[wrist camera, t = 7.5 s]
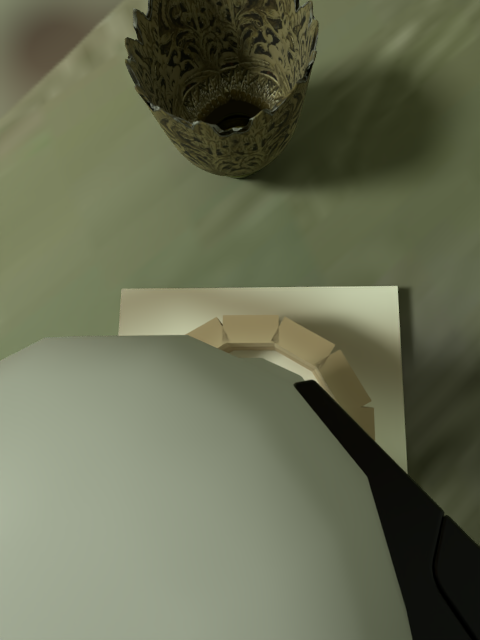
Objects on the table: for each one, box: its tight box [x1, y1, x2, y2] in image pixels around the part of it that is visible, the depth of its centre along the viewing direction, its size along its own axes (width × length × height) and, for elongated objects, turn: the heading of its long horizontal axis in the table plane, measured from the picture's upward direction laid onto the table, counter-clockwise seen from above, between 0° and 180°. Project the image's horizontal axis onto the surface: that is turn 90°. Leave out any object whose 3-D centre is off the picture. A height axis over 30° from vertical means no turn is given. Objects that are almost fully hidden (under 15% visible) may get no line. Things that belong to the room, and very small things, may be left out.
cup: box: [125, 0, 318, 178], centre depth 20 cm, size 8×7×8 cm
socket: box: [118, 286, 408, 474], centre depth 19 cm, size 18×14×4 cm
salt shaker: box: [0, 335, 412, 640], centre depth 9 cm, size 6×6×13 cm
